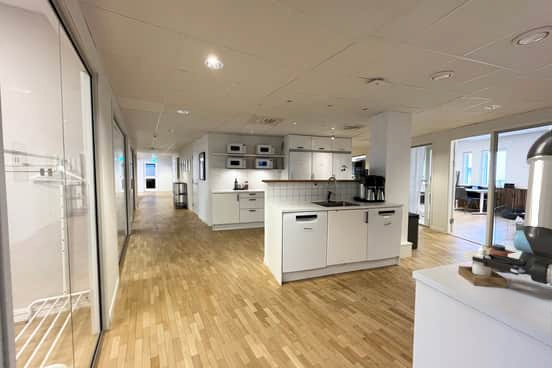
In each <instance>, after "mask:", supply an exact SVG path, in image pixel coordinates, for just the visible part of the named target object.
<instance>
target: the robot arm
mask: <svg viewBox="0 0 552 368" xmlns="http://www.w3.org/2000/svg"><path fill="white" fill-rule="evenodd" d="M525 162H526V163H527V165H529V170H528V181H527V191H526V200H525V211H524V221H523V229H522V230H521V229H518V230H515V231H514V235H513V247H514V249H515V250H516V251H520V252H521V254H520V256H519V257H518V258H514V257H511V256H508V257H506V256H502V255H497V254H490V253H486V255H487V256H489V257H490V258H491V259H488V258H485V256H479V255H475V254H479V253H478V251H476V250H471V249H468V250H467V252H465V251H463V253H462V259H463V260H465V261H466V260H467V261H470V262H473V261H474V262H478V263H482V264H483V266H486V267H490V268H494V269H497V270H501V271H505V272H504V273H510V274H512V275H516V276H519V275H529V276H530V279H531V281H533V282H535V283H539V284H543V285H547V284H549V286H551V287H552V129H550V130H548V131H546V132H545V133H543V134H541V135H540V136H539V137H538V138H537V139H536V140H535V141H534V143H532V145H531V146H530V148H529V150H528V153H527V155H526V161H525Z"/></svg>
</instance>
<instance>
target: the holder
mask: <svg viewBox="0 0 552 368" xmlns="http://www.w3.org/2000/svg"><path fill="white" fill-rule="evenodd" d="M457 272H458V275H460V276H461V277H462V278H464V279H465V280H466V281H467V280H468V281H467V282H469V284H470V283H471V285H473V286H475V287H485V288H486V287H487V288H499V289H500V288H501V289H508V282H509V279H508V278H507V277H505V276H503V275H501V274H499V272H497V271H494V270H492V269H491V276H479V275H475V274H474V273H473V272H472V266H467V265H466V266H465V265H458V271H457Z"/></svg>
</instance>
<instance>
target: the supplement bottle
mask: <svg viewBox="0 0 552 368" xmlns="http://www.w3.org/2000/svg"><path fill="white" fill-rule="evenodd" d="M489 254H497V255H502V256H506V257H509V253H508V251H507V250H506V246H505V245H502V244H497V243H495V244H492V248H490V250H489ZM491 270H493V271H494V272H496V273H506V272H505V271H501V270H497V269H494V268H491Z"/></svg>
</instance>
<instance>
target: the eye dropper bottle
mask: <svg viewBox="0 0 552 368" xmlns="http://www.w3.org/2000/svg"><path fill="white" fill-rule="evenodd" d="M477 249H478V251H477V252H478V253H479V254H475V255H479V256H485V258H488V259H491V258H490V257H489V256H487V255H486V254H487V249H486V248H485V247H484V245H480V247H479V248H477ZM471 267H472V272H473V273H474V274H475V275H479V276H491V270H492V269H491V268H490V267H486V266H483V264H482V263H478V262H474V261H472V266H471Z"/></svg>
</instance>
